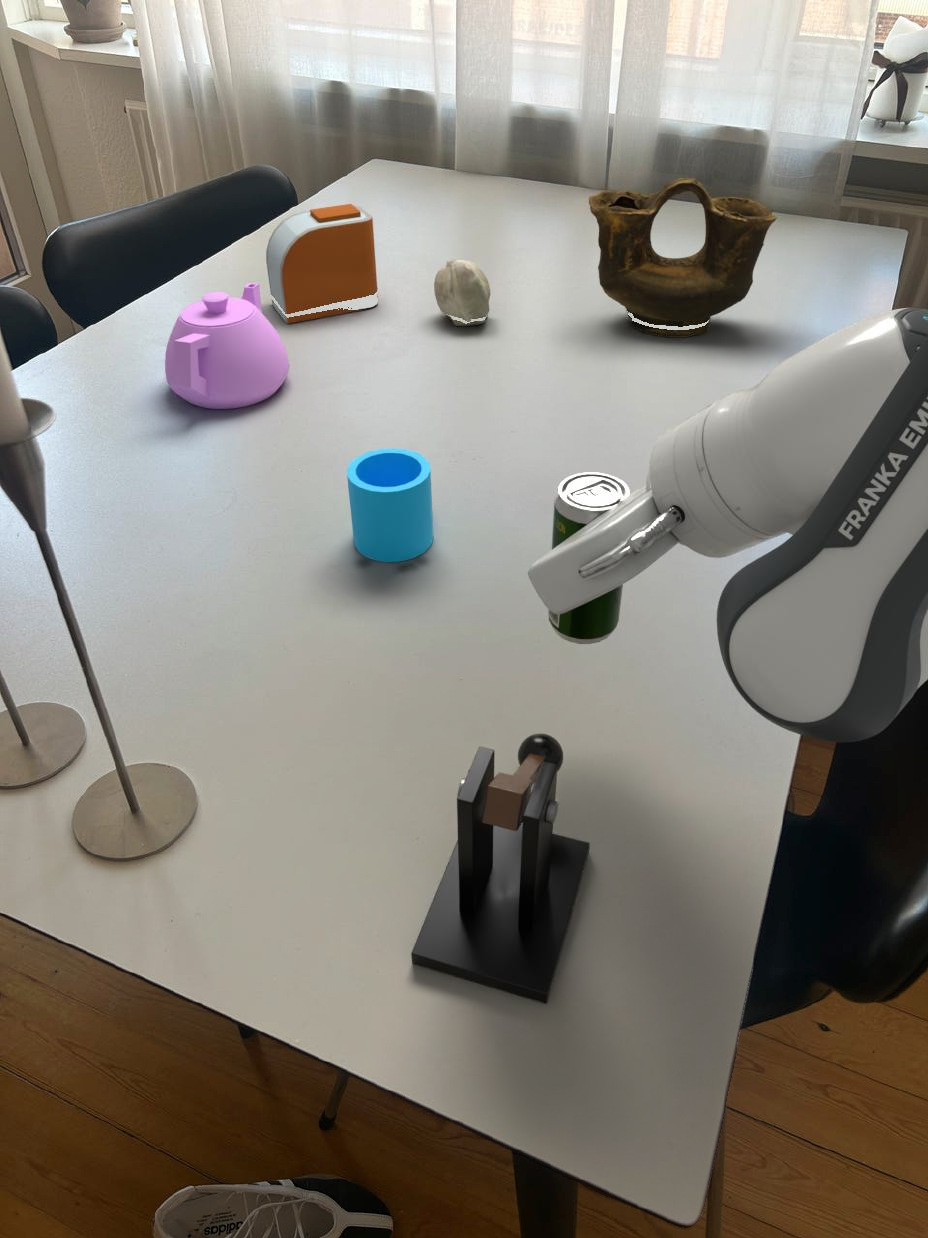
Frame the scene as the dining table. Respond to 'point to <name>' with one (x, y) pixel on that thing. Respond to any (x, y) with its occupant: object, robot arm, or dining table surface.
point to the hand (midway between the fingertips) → (581, 550)
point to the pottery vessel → (677, 283)
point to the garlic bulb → (462, 291)
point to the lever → (519, 782)
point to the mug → (391, 504)
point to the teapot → (225, 352)
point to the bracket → (504, 892)
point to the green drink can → (572, 512)
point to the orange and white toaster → (321, 260)
